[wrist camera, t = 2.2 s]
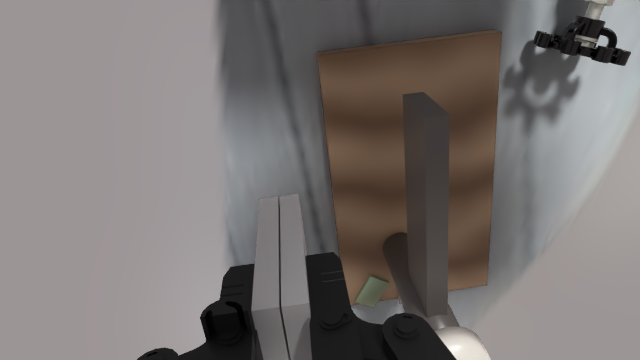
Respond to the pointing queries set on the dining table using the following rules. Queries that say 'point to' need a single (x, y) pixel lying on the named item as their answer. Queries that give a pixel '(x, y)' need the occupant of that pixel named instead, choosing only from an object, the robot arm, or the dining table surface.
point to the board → (389, 157)
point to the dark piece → (428, 227)
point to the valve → (586, 37)
